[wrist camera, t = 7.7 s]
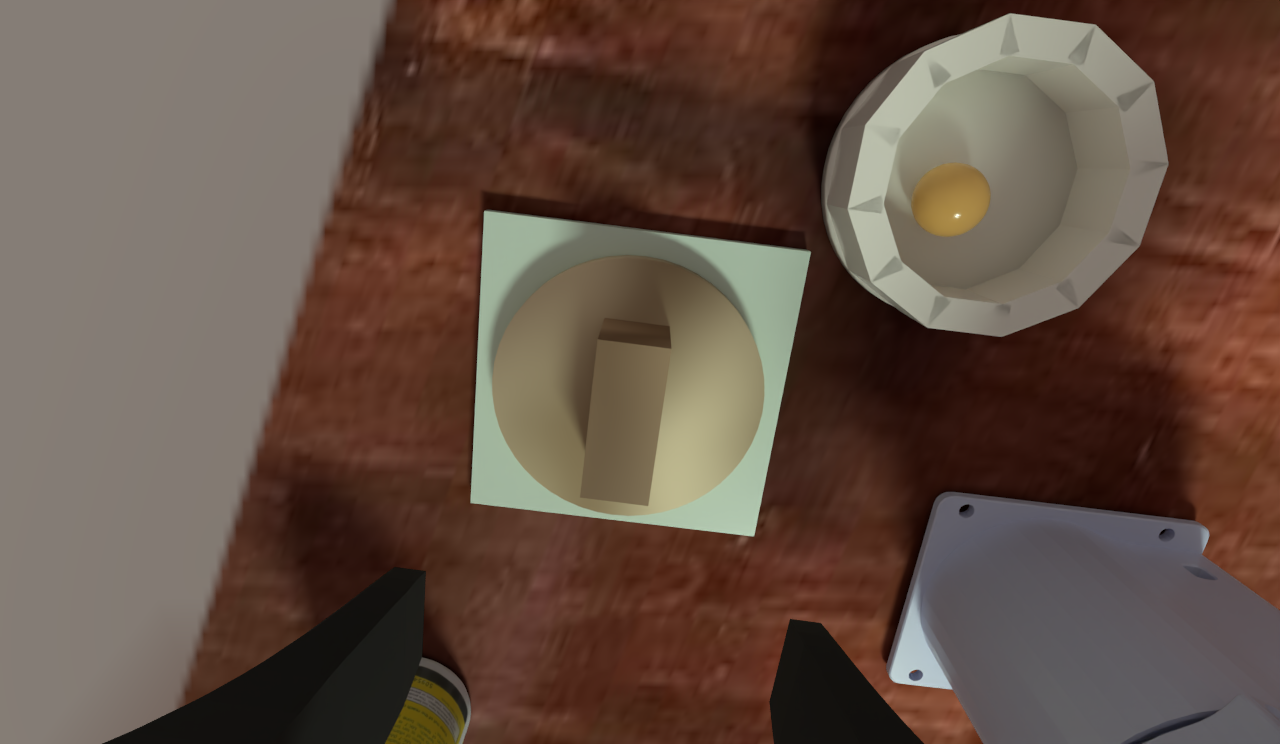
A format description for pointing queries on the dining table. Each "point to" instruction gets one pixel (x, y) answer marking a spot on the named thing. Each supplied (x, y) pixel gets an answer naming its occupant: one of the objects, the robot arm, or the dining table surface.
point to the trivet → (548, 246)
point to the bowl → (995, 174)
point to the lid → (628, 385)
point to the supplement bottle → (433, 708)
